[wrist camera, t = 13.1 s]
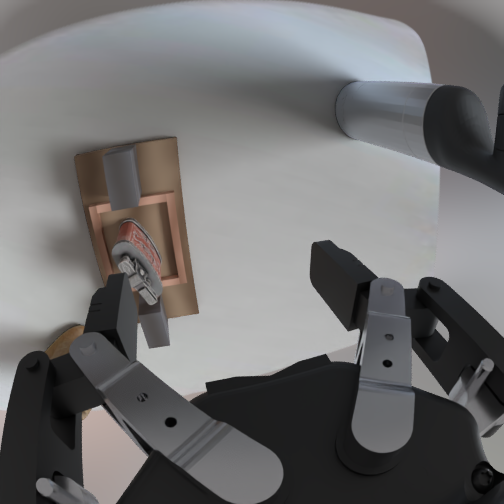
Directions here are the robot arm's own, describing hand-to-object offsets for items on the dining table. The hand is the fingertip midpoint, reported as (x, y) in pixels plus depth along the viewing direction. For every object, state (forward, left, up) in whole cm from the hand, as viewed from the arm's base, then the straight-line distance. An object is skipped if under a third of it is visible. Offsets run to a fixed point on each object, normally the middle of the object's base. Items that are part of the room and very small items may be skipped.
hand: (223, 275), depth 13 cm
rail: (+7, +10, -28) cm, 30 cm away
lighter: (+7, +10, -27) cm, 29 cm away
